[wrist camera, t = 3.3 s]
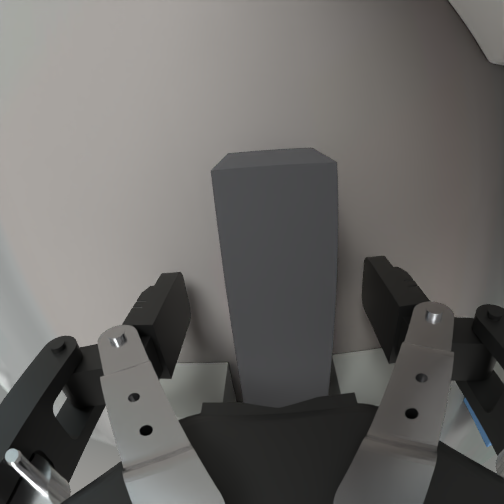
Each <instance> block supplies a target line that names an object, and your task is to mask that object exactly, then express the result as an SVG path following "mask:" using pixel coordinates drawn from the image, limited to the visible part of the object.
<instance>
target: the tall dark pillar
mask: <svg viewBox="0 0 504 504" xmlns="http://www.w3.org/2000/svg"><path fill="white" fill-rule="evenodd" d="M211 176H212V185H213V193H214V201H215V209H216V217H217V225H218V233H219V241H220V248H221V256H222V263H223V271H224V278H225V285H226V292H227V299H228V306H229V313H230V319H231V326H232V333H233V339H234V346H235V352H236V358H237V365H238V371H239V377H240V383H241V389H242V395H243V401H244V403H248V404H254V405H260V406H267V407H274V408H280V407H285V406H288V405H292V404H296V403H299V402H302V401H306V400H309V399H312V398H316V397H321V396H328V390H329V381H330V371H331V361H332V349H333V336H334V322H335V305H336V285H337V255H338V175H337V162H336V161H334V160H332V159H331V158H329V157H327V156H325V155H324V154H322V153H320V152H319V151H317V150H315V149H313V148H297V149H278V150H263V151H250V152H239V153H228V154H227V155H226V156H225V157H224V158H223V159H222V160H221V161H220V162H219V163H218V164H217V165H216V166H215V167H214V168H213V169H212V170H211Z"/></svg>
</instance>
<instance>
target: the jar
mask: <svg viewBox="0 0 504 504" xmlns="http://www.w3.org/2000/svg"><path fill="white" fill-rule="evenodd" d="M448 1H449V2H450V4H451V5H452V6H453V8H454V9H455V10H456V12H457V13H458V14H459V16H460V17H461V19H462V20H463V22H464V23H465V24H466V26H467V27H468V29H469V30H470V32H471V33H472V35H473V37H474V38H475V40H476V41H477V43H478V44H479V46H480V48H481V49H482V51H483V53H484V54H485V56H486V58H487V59H488V61H489V62H491V63H493V64H499V65H504V0H448Z"/></svg>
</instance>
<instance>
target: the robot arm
mask: <svg viewBox="0 0 504 504" xmlns="http://www.w3.org/2000/svg"><path fill="white" fill-rule="evenodd" d="M362 301H363V307H364V309H365V312H366V314H367V316H368V318H369V320H370V322H371V325H372V327H373V329H374V331H375V333H376V336H377V338H378V340H379V342H380V345H381V347H382V349H383V351H384V354H385V356H386V358H387V361H388V363H389V364H392V363H395V366H394V369H393V371H392V374H391V377H390V380H389V382H388V385H387V388H386V390H385V393H384V395H383V398H382V400H381V403H380V405H379V406H376V405H372V404H365V403H357V399H356V396H355V392H352V393H345V394H337V395H330V396H321V397H316V398H312V399H309V400H306V401H302V402H299V403H296V404H292V405H288V406H285V407H280V408H274V407H267V406H260V405H254V404H248V403H242V402H203V403H202V409H201V413H199V414H195V415H191V416H188V417H185V418H182V419H180V420H178V419H177V417H176V415H175V413H174V411H173V409H172V407H171V405H170V403H169V401H168V399H167V397H166V395H165V393H164V390H163V388H162V386H161V384H160V382H159V380H160V379H172V376H173V373H174V369H175V366H176V363H177V360H178V357H179V354H180V351H181V347H182V344H183V341H184V338H185V335H186V332H187V329H188V326H189V323H190V318H191V312H190V305H189V301H188V296H187V292H186V287H185V283H184V279H183V275H182V273H181V272H174V273H162V274H161V275H160V277H159V279H158V280H157V282H156V284H155V286H150V287H149V288H147V289H146V290H145V291H144V292H142V293H141V295H140V296H139V298H138V300H137V302H136V303H135V304H134V306H133V308H132V309H131V311H130V313H129V314H128V316H127V317H126V319H125V321H124V322H123V324H122V325H119V326H115V327H112V328H110V329H108V330H106V331H105V332H104V333H102V334H101V336H100V337H99V339H98V344H96V345H90V346H85V347H80V348H79V346H78V344H77V341H76V339H75V338H73V337H71V336H61V337H58V338H55V339H53V340H52V341H50V342H49V343H48V344H46V345H45V347H44V348H43V349H42V350H41V352H40V353H39V354H38V355H37V357H36V358H35V359H34V360H33V362H32V363H31V364H30V365H29V367H28V368H27V369H26V370H25V372H24V373H23V374H22V376H21V377H20V378H19V380H18V381H17V382H16V384H15V385H14V386H13V388H12V389H11V390H10V392H9V393H8V394H7V396H6V397H5V398H4V400H3V401H2V403H1V404H0V504H504V383H503V382H502V381H501V379H500V378H499V376H498V375H497V374H496V372H495V371H494V370H493V369H494V366H495V364H496V362H498V363H499V364H500V366H501V367H502V368H503V370H504V309H503V308H501V307H499V306H496V305H490V304H486V305H482V306H480V307H478V308H477V310H476V313H475V317H474V318H457V317H454V313H453V311H452V310H451V309H450V308H449V307H447V306H446V305H444V304H441V303H438V302H430V300H429V299H428V298H427V296H426V295H425V294H424V293H423V291H422V290H421V289H420V288H419V286H417V284H416V283H415V281H413V279H412V278H411V276H410V275H409V274H408V273H407V272H406V271H404V270H402V269H401V268H399V267H393V266H392V265H391V264H390V262H389V261H388V260H387V258H386V257H385V256H376V257H366V258H365V260H364V271H363V287H362ZM451 380H455V381H456V383H457V385H458V386H459V388H460V390H461V391H462V393H463V395H464V396H465V398H466V400H467V401H468V403H469V405H470V406H471V408H472V410H473V412H474V413H475V415H476V417H477V419H478V420H479V422H480V424H481V426H482V428H483V429H484V431H485V433H486V435H487V437H488V439H489V440H490V442H491V444H492V446H493V448H494V450H495V452H496V454H497V455H498V457H497V460H496V471H497V474H496V473H494V472H493V471H491V470H489V469H487V468H485V467H484V466H482V465H480V464H478V463H477V462H475V461H473V460H471V459H470V458H468V457H466V456H465V455H463V454H461V453H459V452H458V451H456V450H454V449H453V448H451V447H449V446H448V445H446V444H444V443H443V442H441V441H439V438H440V434H441V430H442V425H443V421H444V416H445V411H446V406H447V401H448V395H449V389H450V383H451ZM61 390H63V392H64V393H65V395H66V397H67V399H66V401H65V403H64V404H63V406H62V408H61V409H60V411H59V413H58V414H57V416H56V417H55V416H54V413H53V404H54V401H55V400H56V398H57V397H58V395H59V393H60V392H61ZM105 406H106V408H107V412H108V416H109V420H110V424H111V427H112V431H113V435H114V438H115V442H116V445H117V448H118V451H119V455H120V458H121V462H119V463H118V464H117V465H115V466H114V467H112V468H111V469H110V470H108V471H107V472H106V473H104V474H103V475H101V476H100V477H98V478H97V479H96V480H94V481H93V482H91V483H90V484H88V485H87V486H85V487H84V488H82V489H81V490H80V491H78V492H76V493H75V494H74V495H72V496H70V493H71V491H70V486H69V482H70V479H71V477H72V475H73V473H74V470H75V468H76V466H77V464H78V462H79V460H80V457H81V455H82V453H83V451H84V449H85V447H86V445H87V442H88V440H89V438H90V436H91V434H92V432H93V430H94V428H95V426H96V424H97V422H98V420H99V418H100V416H101V414H102V412H103V410H104V408H105Z"/></svg>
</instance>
